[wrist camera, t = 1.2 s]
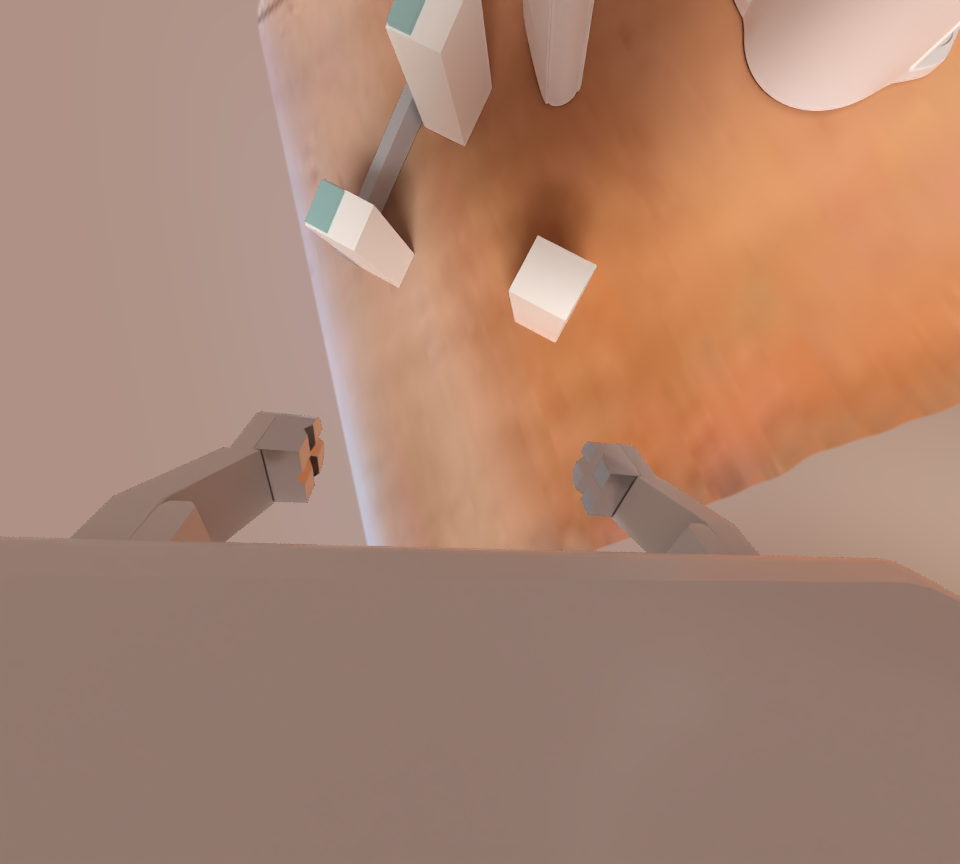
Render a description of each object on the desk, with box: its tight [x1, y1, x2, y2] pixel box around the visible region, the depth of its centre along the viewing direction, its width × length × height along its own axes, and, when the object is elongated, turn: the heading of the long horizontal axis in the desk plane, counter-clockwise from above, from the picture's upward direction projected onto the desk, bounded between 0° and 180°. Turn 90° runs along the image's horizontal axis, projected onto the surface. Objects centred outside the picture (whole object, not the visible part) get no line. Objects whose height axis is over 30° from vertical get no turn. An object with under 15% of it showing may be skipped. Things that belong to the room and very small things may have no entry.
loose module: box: [509, 236, 597, 343], centre depth 31 cm, size 4×5×11 cm
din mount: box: [305, 0, 492, 288], centre depth 32 cm, size 22×7×10 cm, turn 151°
